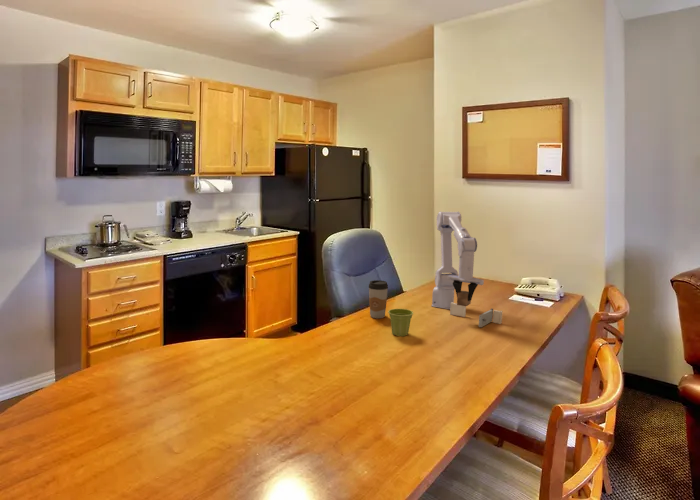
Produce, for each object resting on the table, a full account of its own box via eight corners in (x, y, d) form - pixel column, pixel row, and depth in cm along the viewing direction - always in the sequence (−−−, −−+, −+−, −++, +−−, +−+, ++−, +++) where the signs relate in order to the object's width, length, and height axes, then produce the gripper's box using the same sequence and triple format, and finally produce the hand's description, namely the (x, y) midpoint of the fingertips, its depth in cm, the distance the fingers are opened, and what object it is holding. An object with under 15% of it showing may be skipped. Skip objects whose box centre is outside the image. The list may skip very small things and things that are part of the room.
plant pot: (385, 329, 172) (386, 308, 171) (409, 329, 173) (410, 308, 171) (389, 338, 163) (390, 315, 161) (415, 338, 164) (415, 315, 162)
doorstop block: (456, 304, 181) (457, 292, 181) (461, 302, 185) (461, 290, 185) (466, 306, 179) (467, 294, 178) (470, 303, 183) (471, 291, 182)
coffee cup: (365, 317, 187) (365, 283, 185) (371, 312, 195) (372, 279, 192) (383, 320, 184) (384, 285, 181) (389, 314, 191) (390, 281, 189)
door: (483, 327, 175) (484, 315, 174) (478, 326, 177) (479, 314, 176) (495, 321, 184) (496, 309, 183) (490, 320, 185) (491, 308, 184)
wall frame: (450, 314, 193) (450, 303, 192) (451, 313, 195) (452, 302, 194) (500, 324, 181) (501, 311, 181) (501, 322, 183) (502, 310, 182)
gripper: (445, 266, 181) (443, 298, 183) (480, 270, 173) (478, 304, 175) (451, 264, 187) (450, 295, 189) (486, 268, 179) (484, 300, 181)
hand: (464, 299), depth 182 cm, fingers closed on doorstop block, 4 cm apart
